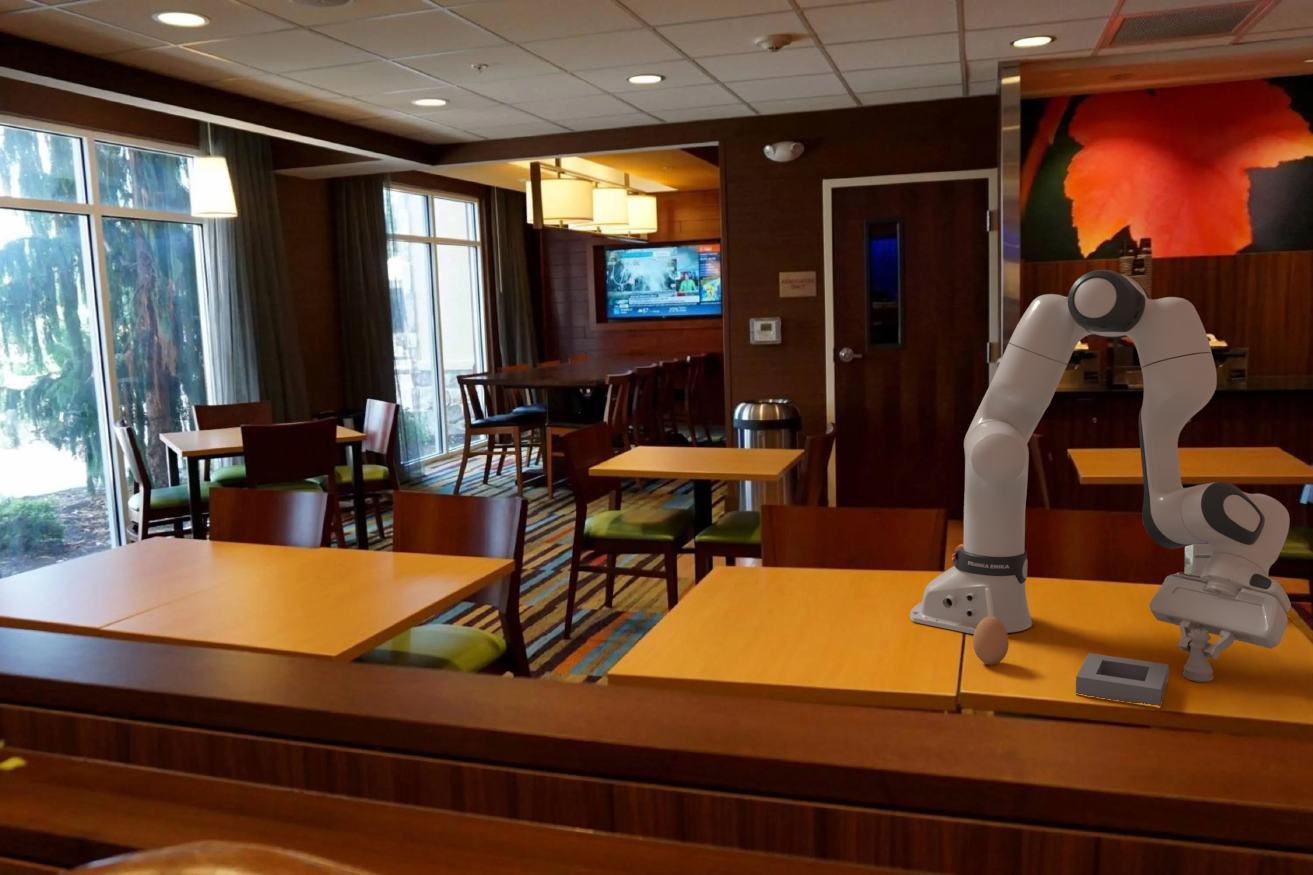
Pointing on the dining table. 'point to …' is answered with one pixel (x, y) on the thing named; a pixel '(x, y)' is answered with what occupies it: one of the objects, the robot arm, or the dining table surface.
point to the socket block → (1122, 679)
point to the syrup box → (1197, 558)
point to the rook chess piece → (1198, 657)
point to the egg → (990, 641)
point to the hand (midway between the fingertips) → (1196, 652)
